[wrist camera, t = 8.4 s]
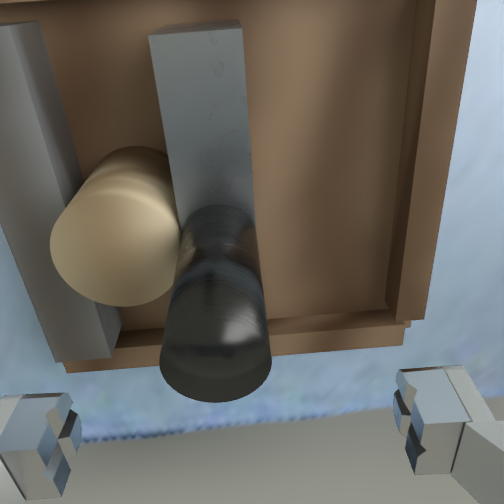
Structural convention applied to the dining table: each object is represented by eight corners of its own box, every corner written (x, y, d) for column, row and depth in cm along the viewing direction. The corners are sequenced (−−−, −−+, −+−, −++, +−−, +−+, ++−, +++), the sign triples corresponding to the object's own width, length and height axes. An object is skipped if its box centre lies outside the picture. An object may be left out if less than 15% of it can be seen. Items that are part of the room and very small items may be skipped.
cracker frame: (459, -78, 18) (513, -93, 15) (404, 317, 29) (428, 361, 25) (-81, -37, 18) (-153, -42, 15) (63, 345, 29) (41, 394, 25)
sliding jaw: (238, 19, 18) (253, 57, 8) (259, 306, 26) (280, 514, 16) (166, 24, 18) (88, 70, 8) (208, 311, 26) (196, 522, 16)
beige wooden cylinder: (184, 141, 21) (170, 190, 16) (197, 233, 24) (189, 301, 19) (79, 150, 21) (31, 201, 16) (104, 241, 24) (70, 311, 19)
